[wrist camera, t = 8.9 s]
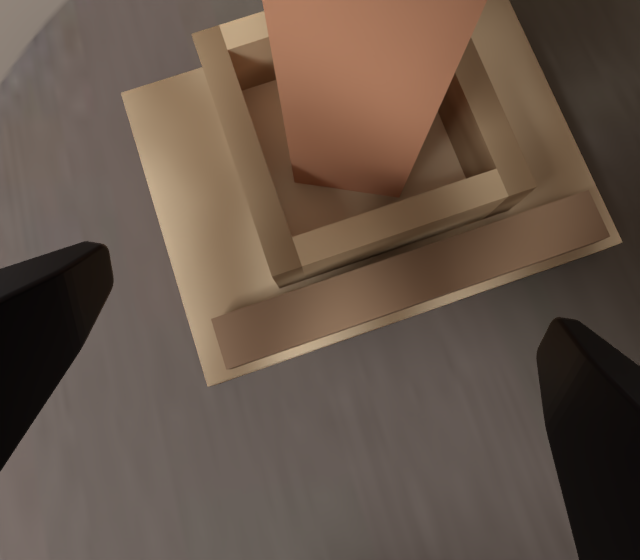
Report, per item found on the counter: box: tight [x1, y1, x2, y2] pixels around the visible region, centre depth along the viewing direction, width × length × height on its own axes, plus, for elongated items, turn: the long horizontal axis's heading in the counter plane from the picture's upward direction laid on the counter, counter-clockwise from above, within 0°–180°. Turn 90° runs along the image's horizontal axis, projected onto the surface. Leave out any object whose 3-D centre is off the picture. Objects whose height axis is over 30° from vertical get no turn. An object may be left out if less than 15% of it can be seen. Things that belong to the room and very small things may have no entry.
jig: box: [121, 0, 622, 387], centre depth 17 cm, size 16×12×4 cm
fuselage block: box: [262, 0, 487, 198], centre depth 12 cm, size 4×4×12 cm
